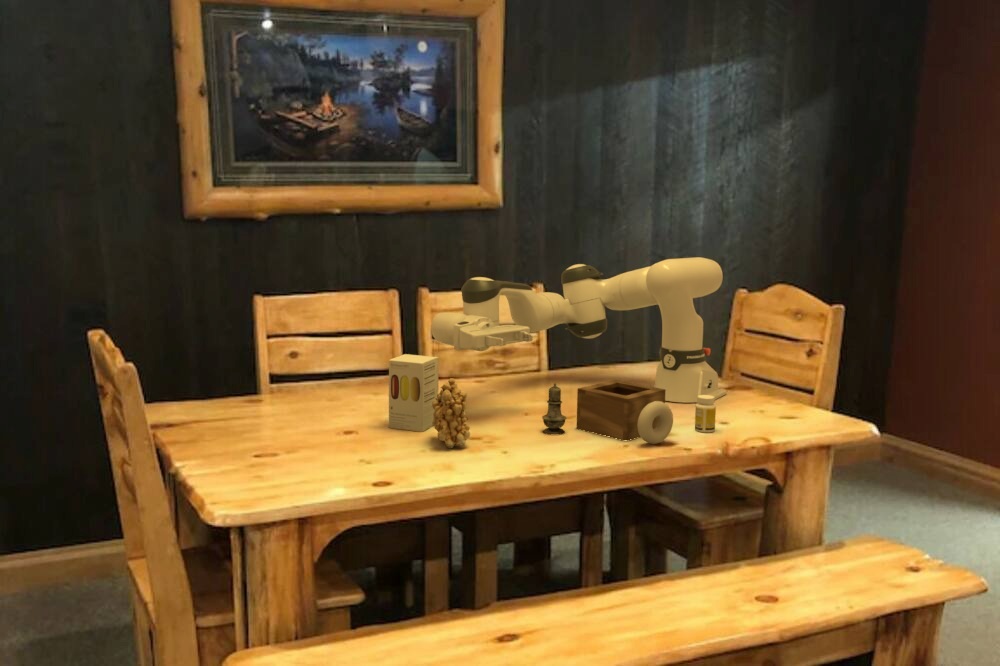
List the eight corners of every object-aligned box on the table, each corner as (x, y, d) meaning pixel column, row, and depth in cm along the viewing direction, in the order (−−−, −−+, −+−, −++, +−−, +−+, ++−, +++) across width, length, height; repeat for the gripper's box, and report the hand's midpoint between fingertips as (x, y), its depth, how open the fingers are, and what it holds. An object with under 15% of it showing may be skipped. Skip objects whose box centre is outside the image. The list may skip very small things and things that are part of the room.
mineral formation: (440, 452, 202) (440, 386, 199) (422, 437, 214) (422, 373, 212) (474, 449, 205) (475, 383, 202) (455, 434, 217) (455, 371, 215)
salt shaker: (564, 435, 217) (565, 386, 215) (539, 434, 218) (540, 384, 216) (567, 429, 222) (568, 380, 220) (543, 427, 223) (544, 379, 221)
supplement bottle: (715, 428, 224) (717, 395, 223) (713, 433, 220) (715, 399, 219) (695, 427, 226) (697, 393, 225) (693, 431, 222) (694, 397, 220)
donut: (643, 448, 207) (645, 405, 205) (633, 445, 209) (634, 402, 208) (675, 442, 212) (677, 400, 211) (664, 438, 215) (666, 397, 213)
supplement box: (387, 428, 221) (386, 359, 219) (404, 419, 230) (403, 353, 227) (423, 432, 218) (423, 362, 215) (439, 423, 227) (439, 356, 224)
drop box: (614, 418, 233) (616, 379, 232) (663, 429, 223) (665, 389, 221) (576, 428, 223) (577, 388, 221) (626, 441, 212) (627, 399, 211)
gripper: (507, 341, 242) (545, 348, 233) (449, 350, 228) (488, 357, 219) (507, 317, 241) (546, 323, 232) (449, 325, 227) (488, 331, 218)
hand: (517, 340), depth 225 cm, fingers open, 8 cm apart
